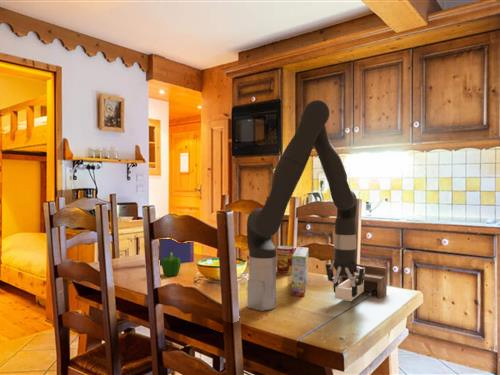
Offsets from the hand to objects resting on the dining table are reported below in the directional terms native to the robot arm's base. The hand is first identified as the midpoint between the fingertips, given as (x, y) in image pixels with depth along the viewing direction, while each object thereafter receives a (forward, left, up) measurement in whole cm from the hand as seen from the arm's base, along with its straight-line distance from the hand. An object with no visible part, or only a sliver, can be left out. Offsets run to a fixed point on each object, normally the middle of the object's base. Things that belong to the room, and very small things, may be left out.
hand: (345, 294), depth 134 cm
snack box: (+8, +22, -3) cm, 23 cm away
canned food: (+27, +40, -3) cm, 48 cm away
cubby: (+17, 0, -3) cm, 17 cm away
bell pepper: (-8, +79, -3) cm, 79 cm away
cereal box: (+12, +97, -3) cm, 98 cm away
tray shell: (+5, 0, -1) cm, 5 cm away
